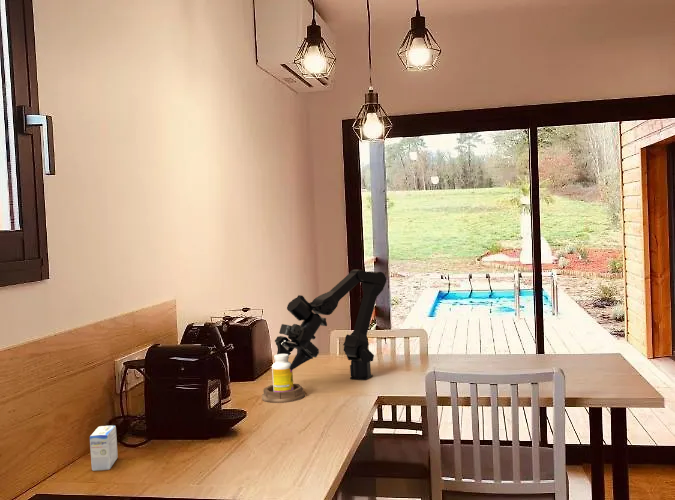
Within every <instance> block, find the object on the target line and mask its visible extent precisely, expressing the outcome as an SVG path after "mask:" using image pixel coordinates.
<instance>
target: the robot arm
mask: <svg viewBox="0 0 675 500" xmlns="http://www.w3.org/2000/svg"><path fill="white" fill-rule="evenodd" d="M359 283H362V284H361V287H362V292H363V295H362V299H361V302H360V306H359V309H358V313H357V316H356V320H355V324H354V328H353V331H352V332H351V334H346V335H345V339H344V342H343V344H342V346H343V352H344V354H345V356H346V358H347V360H348V361H350V365H349V374H350V377H349V379H350V380H361V381H362V380H363V381H364V380H369V379H370V378H371V377H373V376H374V374H372V369H371V368H372V367H371V363H372V362H373V361H374V357H375V354H373V353H372V351H370V350H369V339H368V336H367V335H368V331H369V327H370V324H371V321H372V316H373V313H374V309H375V305H376V302H377V298H378V297H379V295H380V294H381V293H382V292H383V290H384V288H385V286H386V284H387V277H386V274H385V273H384V272H382V271H374V270H373V271H370V270H369V271H365V270H363V269H352V270H351V271H350V272H349V273H348V274H347V275H345V277H344V278H343V279H342V280H340V281H339V282H338V283H337V284H336V285H335V286H334V287H332V288H331V289H330V290H329V291H327V292H324V293H322V294H320V295H318V296H316V297H315V298H313V300H312V301H310V302H309V301H308V300H307V299H306V298H305V296H304V295H302V294H300V295H299V294H298V295H297V297H295V298H293V299H292V300H291V301H289V302H288V304H287V306H286V310H287V311H288V312H289V314H291V315H292V316H294V318H296V320H297V321H299V322H300V321H302V322H301V323H300V324H296V323H293V324H292V325H290V324H284V323H282V324H281V325H280V328H279V329H280V330H279V332H278V333H279V334H281V335H279V336H277V337H276V338H275V339H274V343H275V346H276V347H277V351H276V355H277V354H288V356H290V355H291V354H292V352H293V351H294V350H296V354H295V356H294V358H293V360H292V361H291V362H290V363H291V366H290V369H291V370H292V371H294V370H295V369H297V368H298V367H300V366H301V365H303V364H304V363H306V362H308V361H310V360H314V358H317V357H318V355H319V354H320V350H319V348H318V347H317V346H316V345H315V344H314V343H313V342H312V340H315V339H316V336H315V334H316V333H317V332H318V330H319V328H320V327H321V326H322V327H327V326H328V323H327V318H326V317H322V316H321V315H324V316H330V315H332V314H333V313H334V311H335V310H336V308H338V306H339V305H338V304H339V303H340V301H341V299H343V298H344V297H345V296H346V295H347V294H348V293H350V292H351V291H352V289H354V288H355V287H356V286H357V285H358V284H359ZM283 335H285V336H283Z"/></svg>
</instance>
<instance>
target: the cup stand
mask: <svg viewBox="0 0 675 500" xmlns="http://www.w3.org/2000/svg"><path fill="white" fill-rule="evenodd" d="M293 387H294V390H292V391H285V392H274V391H273V384H271V385H268V386H267V387H265V388H263V389H262V390H263V393H262V395H261V400H262V401H264V402H266V403H269V404H270V403H273V404H284V403H290V402H296V401H298V400H301V399H304V398H305V391H304V390H303V389H304V388H303V386H302V385H300V384H299V383H293Z"/></svg>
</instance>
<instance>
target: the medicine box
mask: <svg viewBox="0 0 675 500" xmlns="http://www.w3.org/2000/svg"><path fill="white" fill-rule="evenodd" d="M89 449H90V462H91V471H94V472H95V471H97V472H98V471H108V470H110V469H112V467H113V466H114V464H115V462H116V461H117V459H118V440H117V427H116V425H100V426H97V428H96V429H95V430H94V431H93V432H92V433H91V434H90V436H89Z"/></svg>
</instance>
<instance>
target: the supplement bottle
mask: <svg viewBox="0 0 675 500" xmlns="http://www.w3.org/2000/svg"><path fill="white" fill-rule="evenodd" d="M289 356H290V355H289ZM289 356H288V354H277V353H276V354H274V356H273V358H274V359H273V360H274V362H273V364H272V365H271V371H272V373H271V374H272V375H271V376H272V385H273V391H274V392H285V391H292V390H294V387H293V384H294V375H293V370H291V369H290V366H291V363H292V362H290V361H289V358H290V357H289Z"/></svg>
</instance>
